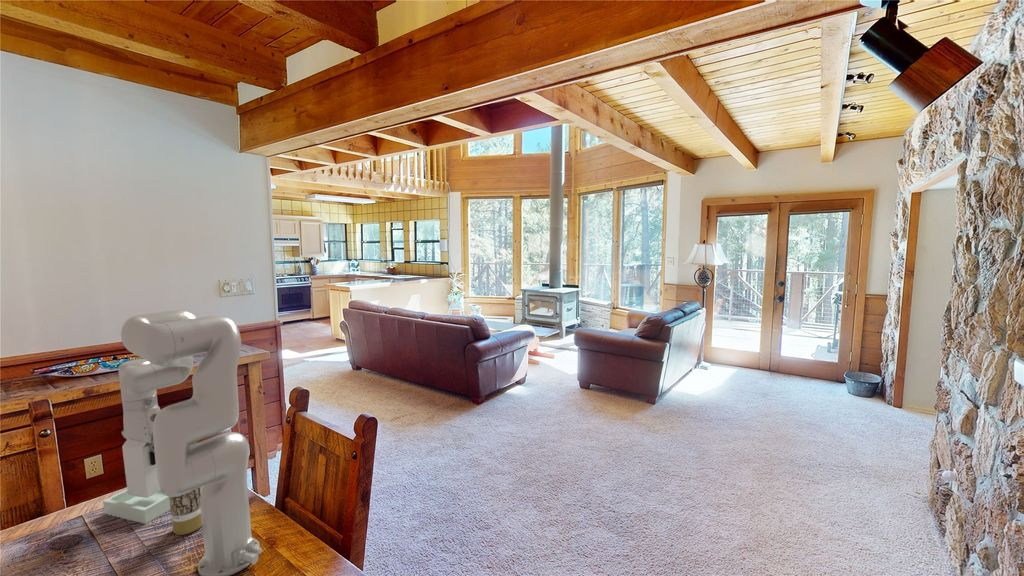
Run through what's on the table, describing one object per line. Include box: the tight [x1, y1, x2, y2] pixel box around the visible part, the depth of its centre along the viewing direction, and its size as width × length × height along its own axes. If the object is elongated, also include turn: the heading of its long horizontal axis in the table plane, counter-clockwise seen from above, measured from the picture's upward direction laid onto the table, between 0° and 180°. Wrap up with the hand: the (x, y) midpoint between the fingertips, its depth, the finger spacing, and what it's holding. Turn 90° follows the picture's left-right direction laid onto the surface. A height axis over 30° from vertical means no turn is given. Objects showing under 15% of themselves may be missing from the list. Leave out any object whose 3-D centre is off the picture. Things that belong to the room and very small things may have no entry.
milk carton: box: [121, 438, 161, 498], centre depth 124 cm, size 7×7×19 cm
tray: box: [102, 488, 171, 525], centre depth 126 cm, size 16×14×4 cm
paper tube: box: [169, 441, 202, 536], centre depth 114 cm, size 7×7×25 cm
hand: (146, 460), depth 124 cm, fingers closed on milk carton, 7 cm apart
